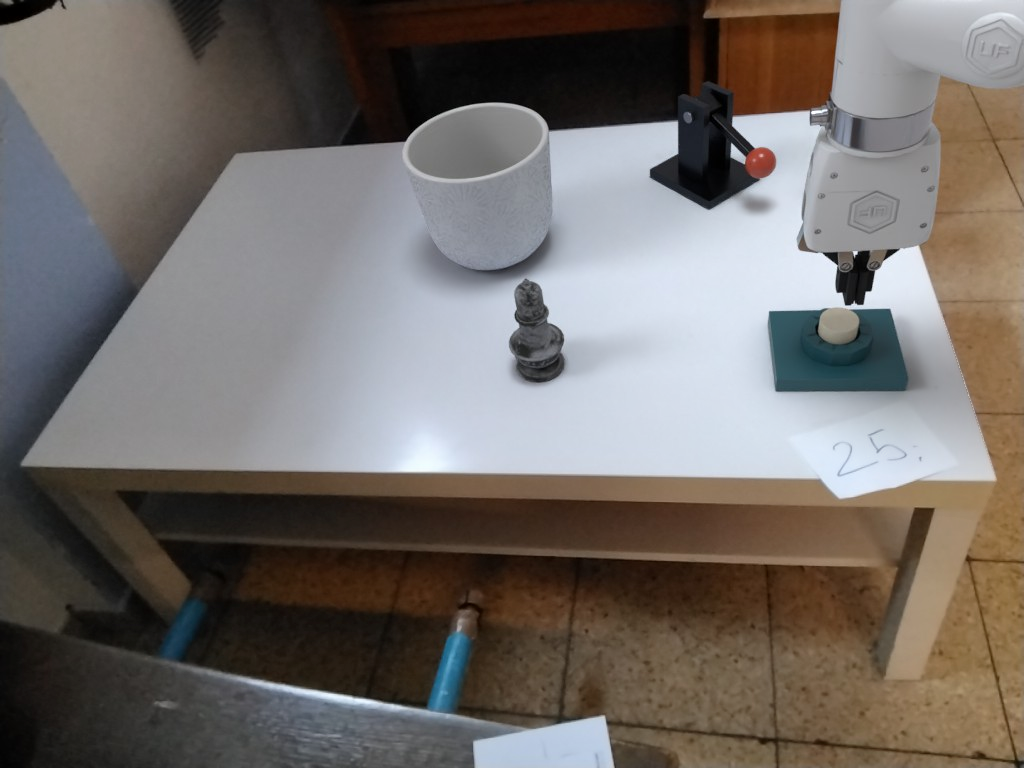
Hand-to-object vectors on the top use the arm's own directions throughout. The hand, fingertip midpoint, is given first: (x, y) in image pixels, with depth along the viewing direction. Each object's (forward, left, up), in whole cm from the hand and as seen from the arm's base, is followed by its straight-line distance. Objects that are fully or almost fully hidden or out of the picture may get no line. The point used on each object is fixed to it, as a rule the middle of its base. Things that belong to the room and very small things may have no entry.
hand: (851, 295), depth 78 cm
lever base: (+13, -33, -8) cm, 37 cm away
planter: (+39, -20, -8) cm, 44 cm away
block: (+1, 0, -8) cm, 8 cm away
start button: (+1, 0, -5) cm, 5 cm away
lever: (+10, -30, -2) cm, 32 cm away
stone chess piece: (+31, +1, -8) cm, 32 cm away
